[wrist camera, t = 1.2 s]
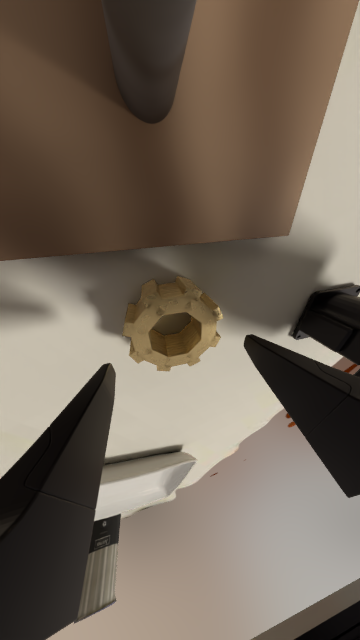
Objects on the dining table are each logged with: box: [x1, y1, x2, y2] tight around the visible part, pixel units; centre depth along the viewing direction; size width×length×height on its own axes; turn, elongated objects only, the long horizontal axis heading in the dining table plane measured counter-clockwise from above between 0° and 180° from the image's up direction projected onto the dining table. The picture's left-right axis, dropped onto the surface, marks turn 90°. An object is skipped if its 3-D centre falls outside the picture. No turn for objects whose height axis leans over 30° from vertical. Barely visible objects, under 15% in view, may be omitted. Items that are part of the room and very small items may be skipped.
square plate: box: [94, 452, 197, 521], centre depth 31 cm, size 27×27×4 cm
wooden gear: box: [122, 276, 223, 371], centre depth 12 cm, size 7×7×3 cm
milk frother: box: [74, 514, 121, 623], centre depth 43 cm, size 14×16×15 cm
